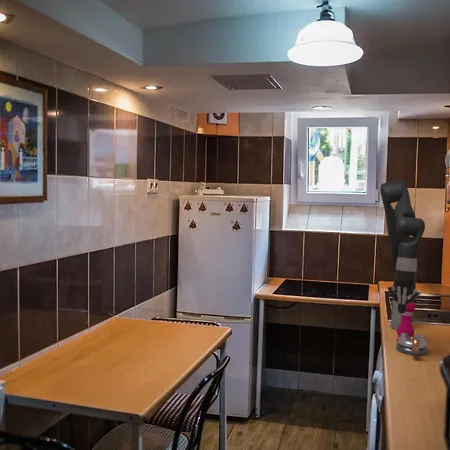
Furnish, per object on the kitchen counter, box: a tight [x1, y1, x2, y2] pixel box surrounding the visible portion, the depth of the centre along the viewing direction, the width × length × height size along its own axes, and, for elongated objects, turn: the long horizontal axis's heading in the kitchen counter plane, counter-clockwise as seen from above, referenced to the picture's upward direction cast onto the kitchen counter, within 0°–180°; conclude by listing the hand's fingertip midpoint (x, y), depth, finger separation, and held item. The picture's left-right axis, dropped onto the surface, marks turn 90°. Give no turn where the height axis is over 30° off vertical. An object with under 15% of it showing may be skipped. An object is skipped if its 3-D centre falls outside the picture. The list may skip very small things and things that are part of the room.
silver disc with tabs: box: [395, 342, 429, 357], centre depth 225 cm, size 12×12×2 cm
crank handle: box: [397, 332, 428, 356], centre depth 220 cm, size 20×11×6 cm, turn 166°
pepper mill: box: [396, 297, 416, 343], centre depth 237 cm, size 7×7×20 cm
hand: (401, 313), depth 214 cm, fingers closed
